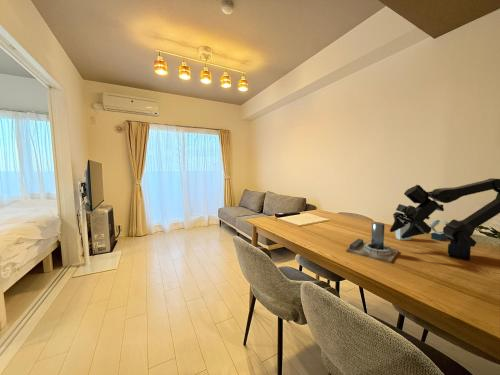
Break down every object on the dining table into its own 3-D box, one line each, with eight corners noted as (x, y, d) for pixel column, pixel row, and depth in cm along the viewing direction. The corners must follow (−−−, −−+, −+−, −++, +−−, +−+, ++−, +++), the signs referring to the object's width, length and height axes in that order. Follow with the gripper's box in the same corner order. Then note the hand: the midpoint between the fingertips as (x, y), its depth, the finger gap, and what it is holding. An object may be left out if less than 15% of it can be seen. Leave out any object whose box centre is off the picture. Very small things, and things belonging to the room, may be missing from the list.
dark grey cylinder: (386, 252, 94) (387, 224, 93) (376, 253, 93) (377, 225, 92) (378, 248, 99) (378, 221, 98) (368, 249, 98) (369, 222, 97)
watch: (433, 236, 117) (434, 217, 116) (451, 240, 110) (452, 220, 109) (427, 237, 115) (427, 218, 115) (444, 242, 108) (445, 221, 107)
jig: (398, 251, 97) (399, 245, 97) (390, 263, 86) (391, 256, 85) (357, 242, 110) (357, 237, 109) (346, 251, 98) (346, 245, 98)
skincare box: (406, 237, 116) (407, 216, 115) (411, 240, 112) (412, 218, 111) (395, 237, 117) (395, 216, 116) (399, 240, 112) (400, 218, 111)
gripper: (397, 195, 102) (373, 217, 104) (424, 201, 83) (394, 228, 85) (414, 211, 101) (389, 233, 103) (445, 220, 83) (414, 246, 85)
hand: (395, 234), depth 94 cm, fingers open, 9 cm apart
